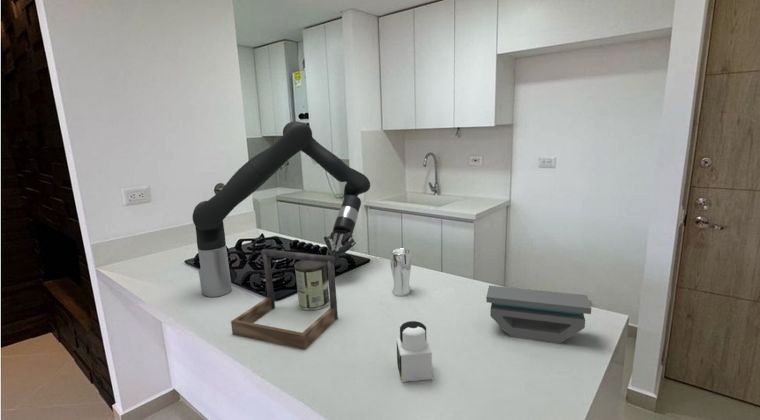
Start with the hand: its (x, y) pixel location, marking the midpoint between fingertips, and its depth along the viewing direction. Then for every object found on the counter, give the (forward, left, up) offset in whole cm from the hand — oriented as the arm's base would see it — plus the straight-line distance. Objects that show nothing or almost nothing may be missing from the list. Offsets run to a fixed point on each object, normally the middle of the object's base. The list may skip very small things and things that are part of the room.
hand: (332, 261), depth 141 cm
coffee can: (-2, -14, -10) cm, 17 cm away
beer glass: (+25, -2, -10) cm, 27 cm away
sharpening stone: (+65, -23, -10) cm, 70 cm away
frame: (-5, -29, -9) cm, 31 cm away
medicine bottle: (+35, -45, -10) cm, 58 cm away
